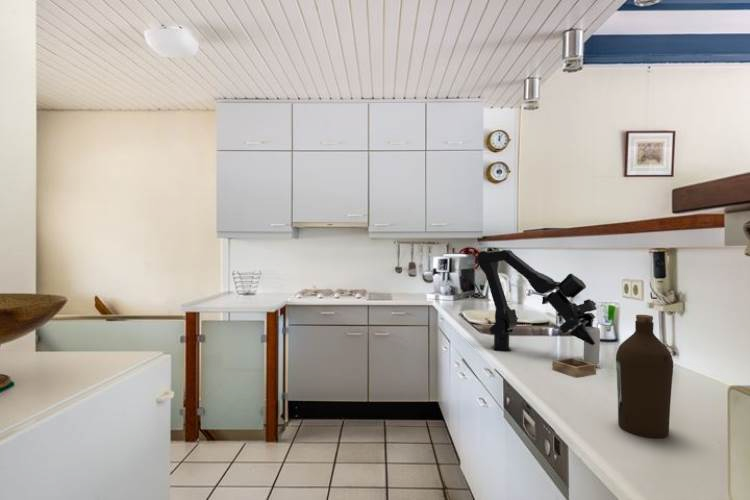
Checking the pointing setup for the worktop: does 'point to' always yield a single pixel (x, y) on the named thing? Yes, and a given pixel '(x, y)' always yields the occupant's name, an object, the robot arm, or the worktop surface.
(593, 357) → the beverage can
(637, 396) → the olive oil
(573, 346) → the worktop surface
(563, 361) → the walnut socket
